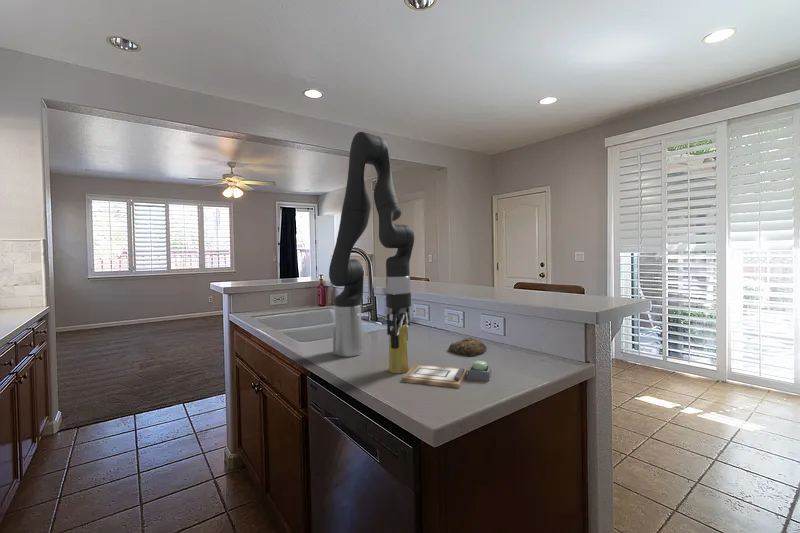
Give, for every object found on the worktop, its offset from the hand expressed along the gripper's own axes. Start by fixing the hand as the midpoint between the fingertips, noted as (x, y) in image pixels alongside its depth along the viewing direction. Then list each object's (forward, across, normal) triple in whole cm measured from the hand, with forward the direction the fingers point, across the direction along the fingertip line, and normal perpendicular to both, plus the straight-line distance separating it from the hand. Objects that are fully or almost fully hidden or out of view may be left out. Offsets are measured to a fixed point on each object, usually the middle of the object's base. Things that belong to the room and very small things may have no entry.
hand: (399, 344), depth 113 cm
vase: (+8, 0, -1) cm, 8 cm away
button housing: (+8, -2, +23) cm, 25 cm away
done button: (+6, -2, +23) cm, 24 cm away
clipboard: (+8, +2, +11) cm, 14 cm away
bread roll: (+9, -28, +16) cm, 34 cm away
